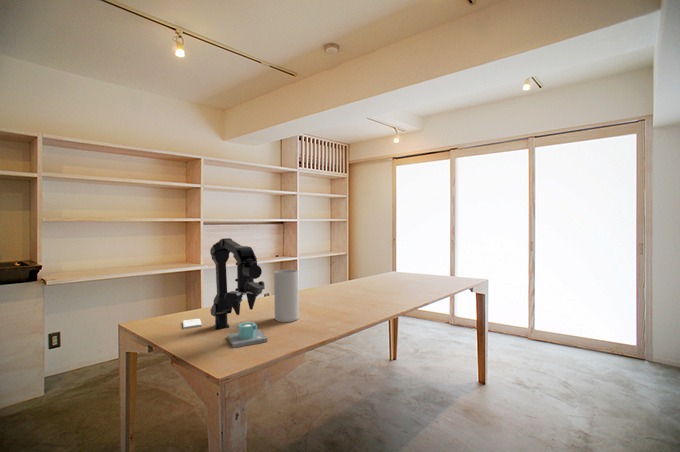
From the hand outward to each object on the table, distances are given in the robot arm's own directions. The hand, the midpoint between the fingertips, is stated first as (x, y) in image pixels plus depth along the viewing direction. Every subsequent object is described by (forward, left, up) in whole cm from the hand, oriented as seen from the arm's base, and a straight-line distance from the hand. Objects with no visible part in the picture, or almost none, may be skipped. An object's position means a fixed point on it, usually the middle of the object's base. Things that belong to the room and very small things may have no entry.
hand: (244, 312), depth 144 cm
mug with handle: (+1, +1, -10) cm, 10 cm away
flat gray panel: (+1, +1, -12) cm, 12 cm away
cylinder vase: (-20, +26, -12) cm, 35 cm away
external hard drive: (-36, -19, -13) cm, 43 cm away
